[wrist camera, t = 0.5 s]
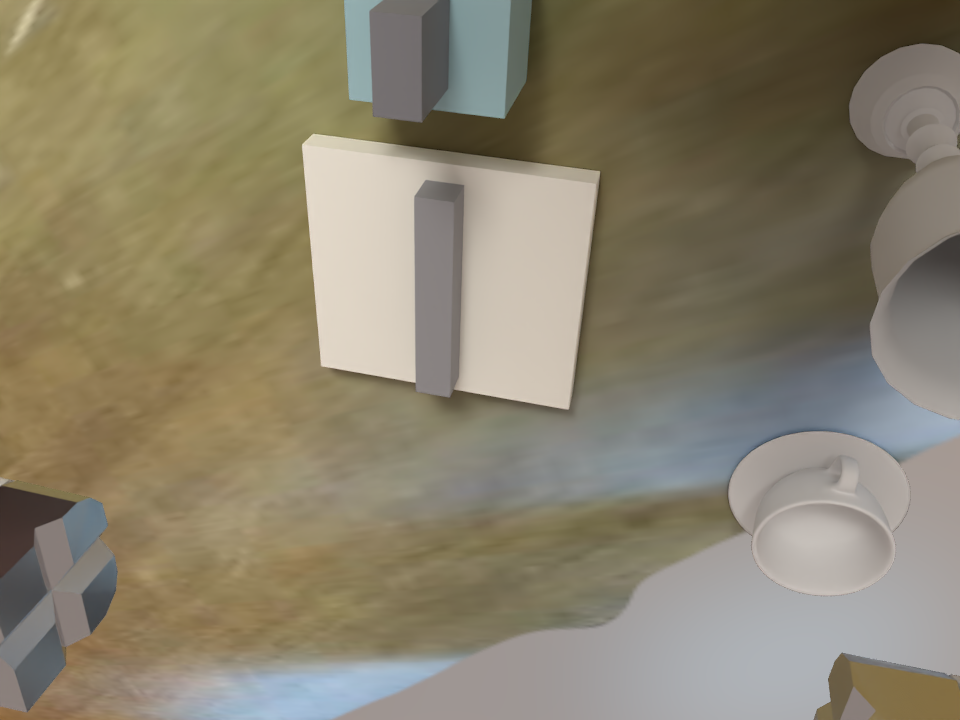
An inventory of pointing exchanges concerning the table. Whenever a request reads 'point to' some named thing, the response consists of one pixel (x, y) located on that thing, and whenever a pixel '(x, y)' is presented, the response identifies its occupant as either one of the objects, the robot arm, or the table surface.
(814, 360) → the table surface
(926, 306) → the chalice
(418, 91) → the block
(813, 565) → the teacup
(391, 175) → the cleat board
